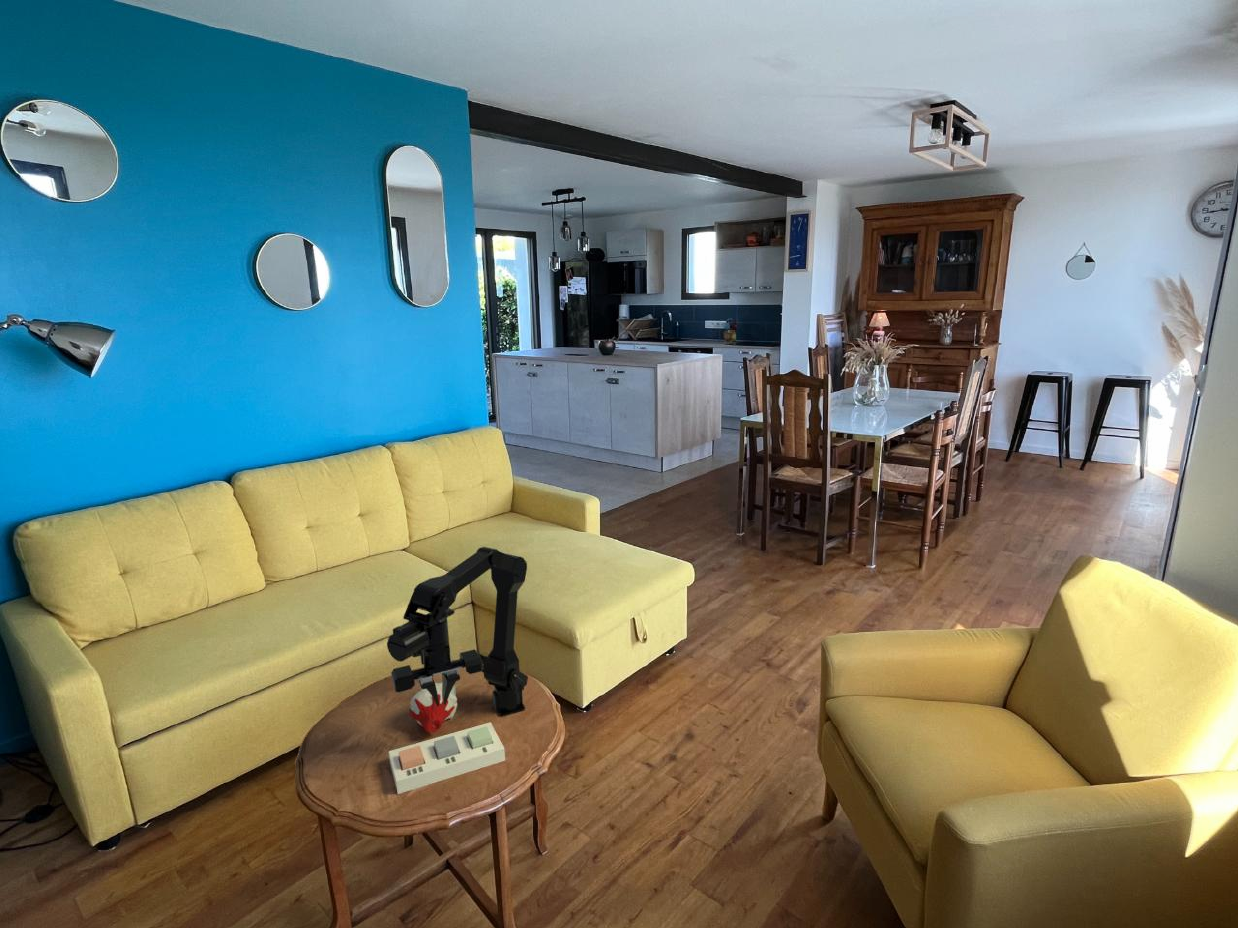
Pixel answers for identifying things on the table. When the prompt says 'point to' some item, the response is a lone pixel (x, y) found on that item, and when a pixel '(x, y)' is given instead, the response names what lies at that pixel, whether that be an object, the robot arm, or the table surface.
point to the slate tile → (446, 747)
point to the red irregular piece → (432, 708)
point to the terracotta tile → (411, 757)
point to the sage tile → (479, 737)
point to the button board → (446, 760)
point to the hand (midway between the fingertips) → (441, 704)
